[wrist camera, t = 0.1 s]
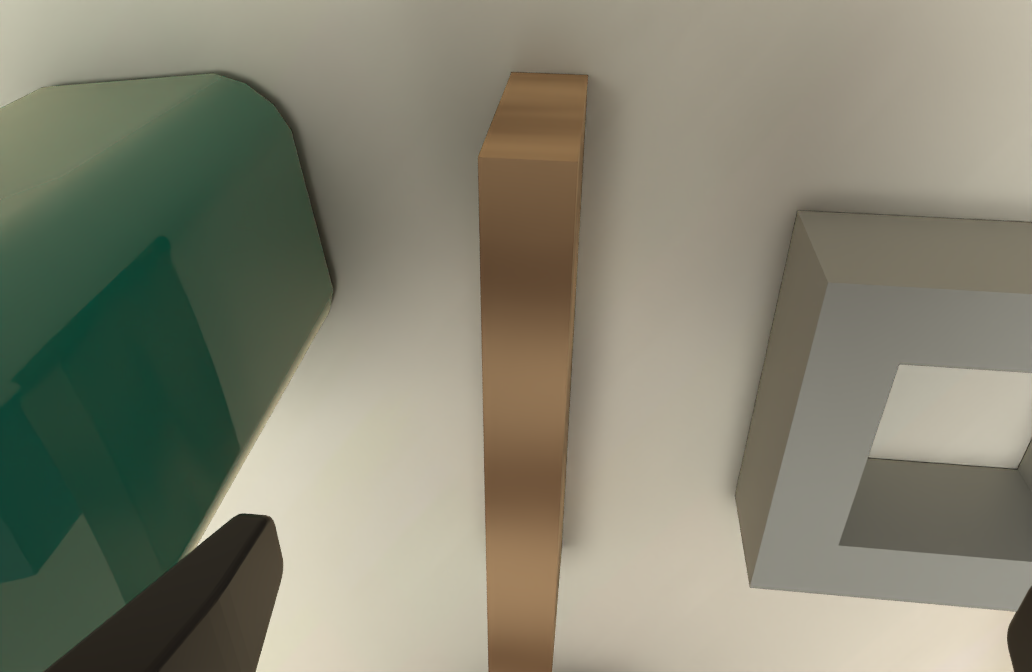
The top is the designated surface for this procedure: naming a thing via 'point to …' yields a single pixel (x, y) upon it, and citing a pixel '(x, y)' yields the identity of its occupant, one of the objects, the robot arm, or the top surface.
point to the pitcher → (137, 333)
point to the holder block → (860, 404)
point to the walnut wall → (528, 353)
